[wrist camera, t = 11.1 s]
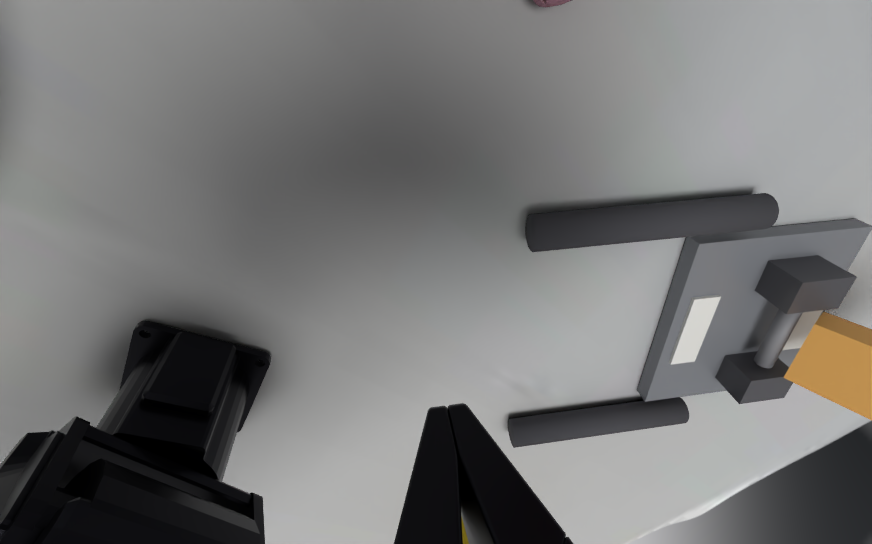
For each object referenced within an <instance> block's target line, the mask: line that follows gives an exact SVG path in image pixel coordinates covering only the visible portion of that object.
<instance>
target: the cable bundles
mask: <svg viewBox="0 0 872 544" xmlns="http://www.w3.org/2000/svg"><path fill="white" fill-rule="evenodd" d="M778 214H779V207H778V204H777V201H776V200H775V198H774V197H773V196H771V195H769V194H766V193H761V194H750V195H739V196H728V197H717V198H706V199H695V200H684V201H672V202H661V203H650V204H639V205H628V206H617V207H606V208H595V209H584V210H572V211H561V212H550V213H539V214H530V215H528V217H527V220H526V239H527V244H528V247H529V249H530V250H531V251H532V252H539V251H549V250H559V249H569V248H579V247H589V246H599V245H610V244H620V243H630V242H640V241H650V240H660V239H670V238H680V237H691V236H701V235H711V234H721V233H731V232H741V231H751V230H761V229H767V228H770V227H771V226H772V225H773V224H774V223H775V222H776V220H777V218H778ZM688 419H689V411H688V408H687V405H686V404H685V402H684V401H683V399H681V398H680V397H676V398H669V399H661V400H654V401H647V402H645V401H637V402H630V403H622V404H615V405H608V406H600V407H593V408H586V409H578V410H571V411H564V412H556V413H549V414H542V415H534V416H527V417H520V418H512V419H509V420H508V431H509V436H510V440H511V443H512V445H513V447H514V448H515V447H522V446H529V445H536V444H543V443H550V442H557V441H564V440H571V439H577V438H584V437H591V436H598V435H605V434H612V433H619V432H626V431H633V430H640V429H647V428H654V427H661V426H668V425H675V424H682V423H686V422H687V421H688Z"/></svg>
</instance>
